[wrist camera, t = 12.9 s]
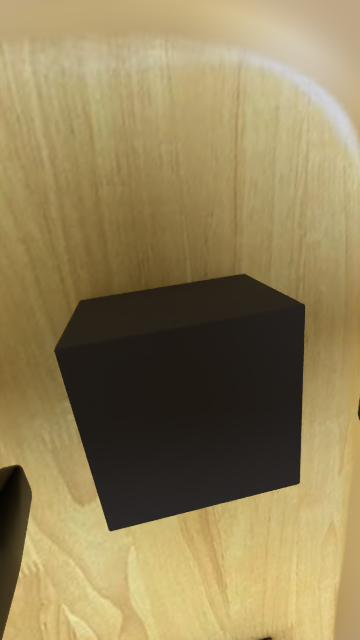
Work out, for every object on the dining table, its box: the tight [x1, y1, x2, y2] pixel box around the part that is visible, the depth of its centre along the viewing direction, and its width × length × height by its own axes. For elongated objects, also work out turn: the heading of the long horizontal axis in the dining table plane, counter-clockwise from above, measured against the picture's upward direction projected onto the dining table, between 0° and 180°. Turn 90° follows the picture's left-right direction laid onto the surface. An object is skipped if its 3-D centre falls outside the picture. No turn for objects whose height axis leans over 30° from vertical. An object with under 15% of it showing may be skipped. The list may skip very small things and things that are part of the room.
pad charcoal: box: [54, 274, 305, 531], centre depth 10 cm, size 6×6×4 cm
